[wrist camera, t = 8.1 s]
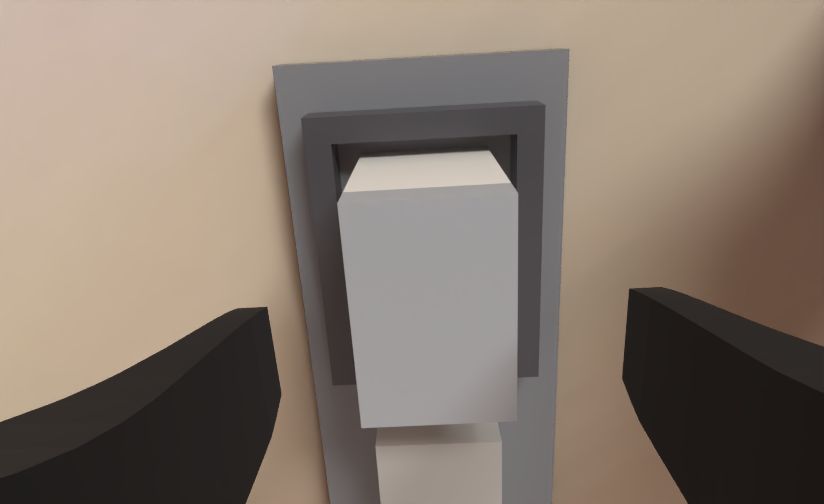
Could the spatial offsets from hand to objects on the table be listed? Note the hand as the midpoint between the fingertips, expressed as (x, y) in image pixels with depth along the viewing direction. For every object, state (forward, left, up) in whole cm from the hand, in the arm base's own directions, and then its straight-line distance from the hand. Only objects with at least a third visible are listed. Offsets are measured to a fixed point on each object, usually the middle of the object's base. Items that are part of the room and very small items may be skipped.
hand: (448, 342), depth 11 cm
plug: (0, +1, -8) cm, 8 cm away
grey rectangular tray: (0, +5, -9) cm, 10 cm away
